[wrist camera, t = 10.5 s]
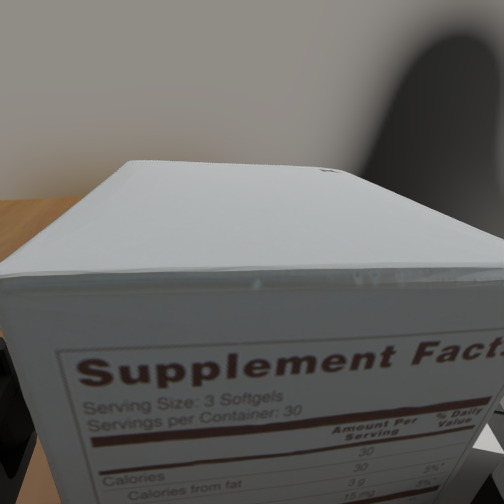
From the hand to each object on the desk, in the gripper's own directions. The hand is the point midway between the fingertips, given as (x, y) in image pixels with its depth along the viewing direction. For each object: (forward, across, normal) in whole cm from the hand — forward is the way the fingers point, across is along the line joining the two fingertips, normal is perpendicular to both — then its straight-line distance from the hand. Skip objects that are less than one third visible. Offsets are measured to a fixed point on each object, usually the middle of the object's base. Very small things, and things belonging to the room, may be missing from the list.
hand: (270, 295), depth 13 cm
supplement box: (-5, 0, -7) cm, 9 cm away
